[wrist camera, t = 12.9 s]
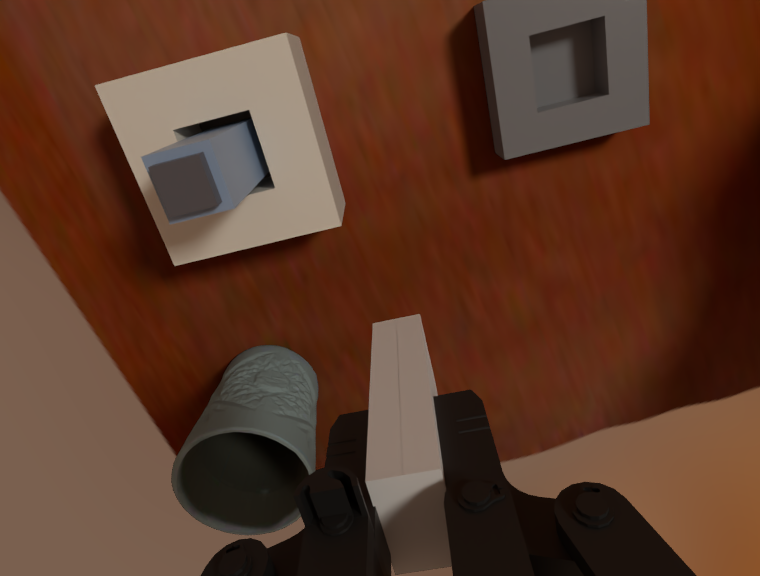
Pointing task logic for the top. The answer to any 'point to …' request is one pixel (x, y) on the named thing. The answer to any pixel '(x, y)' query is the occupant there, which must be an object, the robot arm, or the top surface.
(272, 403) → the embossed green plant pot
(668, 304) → the top surface
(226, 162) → the plug
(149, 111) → the port
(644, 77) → the grey square socket block
